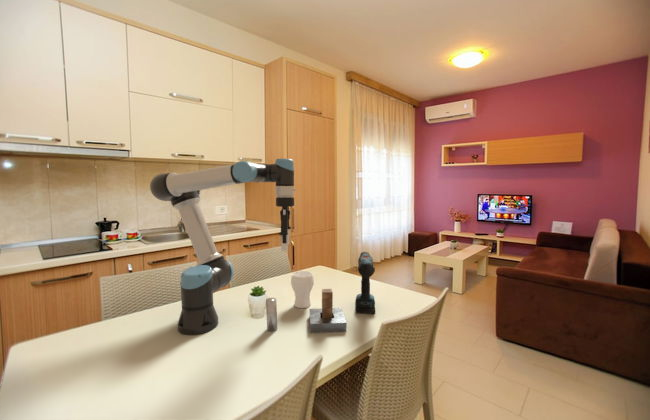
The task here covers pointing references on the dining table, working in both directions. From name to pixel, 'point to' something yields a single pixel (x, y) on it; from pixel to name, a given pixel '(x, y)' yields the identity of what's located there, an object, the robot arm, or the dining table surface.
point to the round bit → (271, 314)
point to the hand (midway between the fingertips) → (285, 247)
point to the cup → (302, 288)
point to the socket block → (327, 321)
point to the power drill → (365, 285)
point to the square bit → (327, 303)
